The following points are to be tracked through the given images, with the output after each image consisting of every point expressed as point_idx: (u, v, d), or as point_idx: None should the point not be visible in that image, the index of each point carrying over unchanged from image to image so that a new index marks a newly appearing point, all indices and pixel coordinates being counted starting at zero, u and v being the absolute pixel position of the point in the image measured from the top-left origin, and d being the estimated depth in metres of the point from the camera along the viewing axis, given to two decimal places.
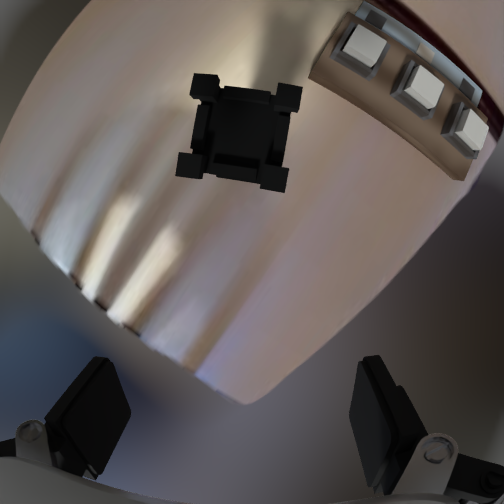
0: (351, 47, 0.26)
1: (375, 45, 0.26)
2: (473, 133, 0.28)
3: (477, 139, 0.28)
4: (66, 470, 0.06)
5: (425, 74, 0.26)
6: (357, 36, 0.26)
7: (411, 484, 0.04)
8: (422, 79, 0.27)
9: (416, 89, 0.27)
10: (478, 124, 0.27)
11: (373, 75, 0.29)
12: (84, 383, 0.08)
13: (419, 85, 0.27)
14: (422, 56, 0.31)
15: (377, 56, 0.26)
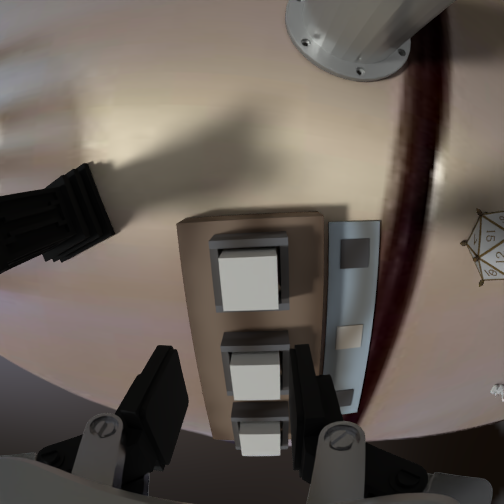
0: (220, 267, 0.21)
1: (254, 297, 0.21)
2: (251, 444, 0.25)
3: (249, 449, 0.26)
4: (133, 469, 0.06)
5: (269, 375, 0.23)
6: (248, 265, 0.20)
7: (326, 475, 0.05)
8: (257, 374, 0.23)
9: (234, 374, 0.23)
10: (269, 446, 0.25)
11: None
12: (155, 371, 0.09)
13: (243, 374, 0.23)
14: (339, 336, 0.29)
15: (236, 308, 0.21)
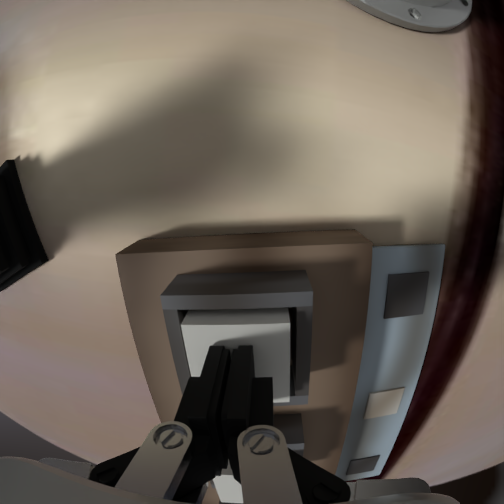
0: (186, 339, 0.11)
1: None
2: None
3: None
4: (191, 482, 0.06)
5: None
6: (235, 338, 0.11)
7: (255, 481, 0.05)
8: None
9: (218, 481, 0.12)
10: None
11: None
12: (215, 373, 0.09)
13: (231, 482, 0.12)
14: (371, 404, 0.18)
15: None
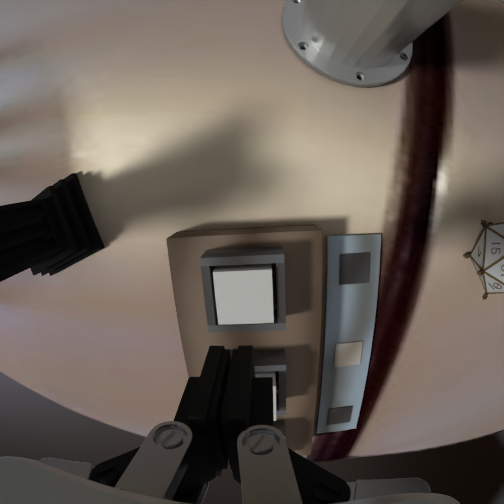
0: (214, 281, 0.20)
1: (249, 311, 0.21)
2: None
3: None
4: (191, 482, 0.06)
5: None
6: (242, 279, 0.20)
7: (255, 481, 0.05)
8: None
9: None
10: None
11: None
12: (215, 373, 0.09)
13: None
14: (338, 353, 0.27)
15: (231, 321, 0.21)
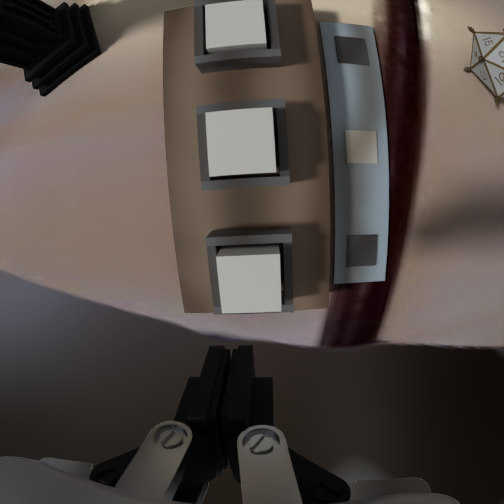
0: (206, 11, 0.15)
1: (240, 32, 0.16)
2: (235, 282, 0.19)
3: (232, 296, 0.19)
4: (191, 482, 0.06)
5: (258, 125, 0.16)
6: (233, 7, 0.15)
7: (255, 481, 0.05)
8: (242, 125, 0.16)
9: (211, 126, 0.17)
10: (263, 285, 0.19)
11: None
12: (215, 373, 0.09)
13: (222, 125, 0.16)
14: (349, 143, 0.22)
15: (220, 44, 0.16)
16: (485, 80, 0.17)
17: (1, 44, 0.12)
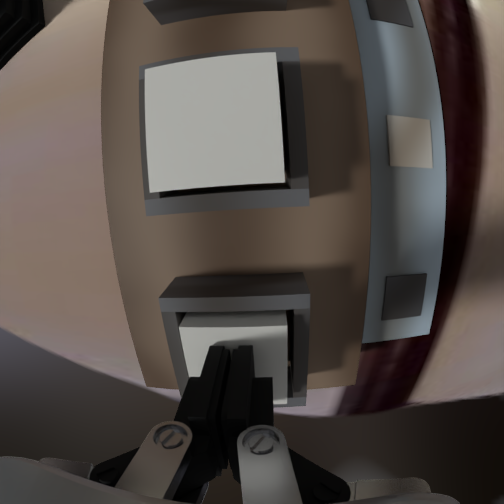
0: None
1: None
2: None
3: None
4: (191, 482, 0.06)
5: (248, 85, 0.07)
6: None
7: (255, 481, 0.05)
8: (215, 86, 0.08)
9: (154, 93, 0.08)
10: (259, 371, 0.11)
11: (145, 1, 0.08)
12: (215, 373, 0.09)
13: (175, 90, 0.08)
14: (393, 135, 0.14)
15: None
16: None
17: None
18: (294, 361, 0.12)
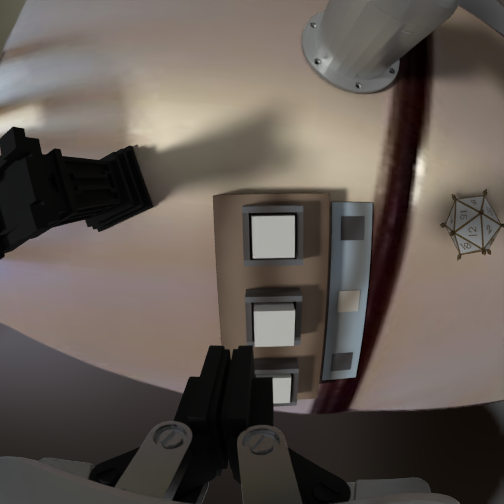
0: (252, 223, 0.28)
1: (277, 247, 0.28)
2: None
3: None
4: (191, 482, 0.06)
5: (286, 320, 0.29)
6: (273, 222, 0.28)
7: (255, 481, 0.05)
8: (276, 320, 0.29)
9: (257, 319, 0.29)
10: (281, 391, 0.32)
11: (244, 264, 0.29)
12: (215, 373, 0.09)
13: (264, 320, 0.29)
14: (340, 299, 0.35)
15: (263, 256, 0.28)
16: (454, 240, 0.31)
17: (73, 217, 0.24)
18: (292, 389, 0.32)
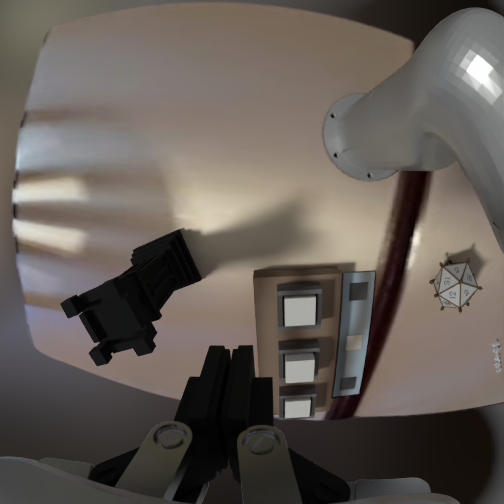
0: (285, 303, 0.37)
1: (302, 318, 0.38)
2: (291, 409, 0.42)
3: (290, 413, 0.42)
4: (191, 482, 0.06)
5: (308, 366, 0.39)
6: (300, 302, 0.37)
7: (255, 481, 0.05)
8: (301, 366, 0.39)
9: (288, 366, 0.39)
10: (303, 409, 0.42)
11: (278, 329, 0.39)
12: (215, 373, 0.09)
13: (293, 366, 0.39)
14: (347, 341, 0.45)
15: (292, 324, 0.38)
16: None
17: None
18: (311, 407, 0.43)
